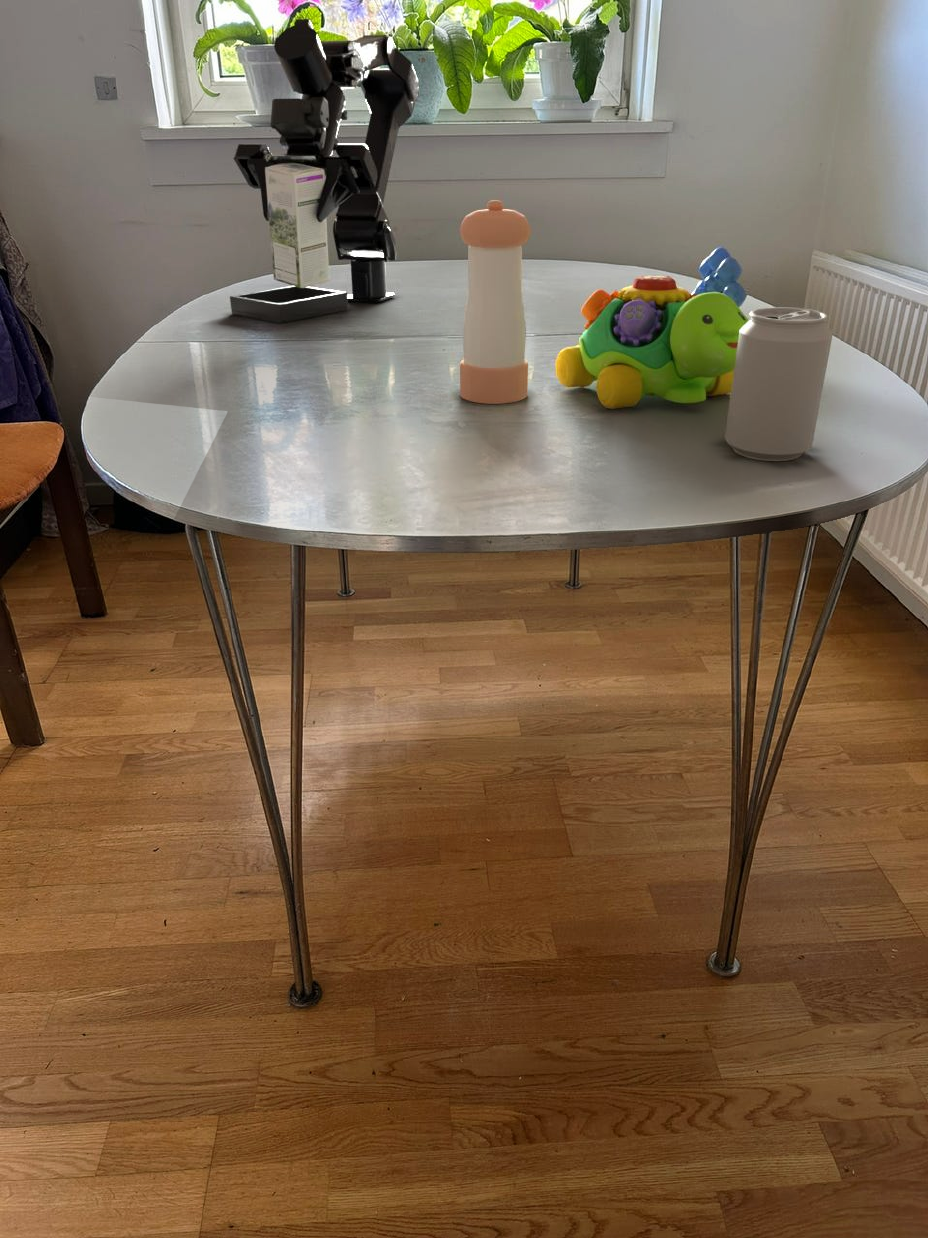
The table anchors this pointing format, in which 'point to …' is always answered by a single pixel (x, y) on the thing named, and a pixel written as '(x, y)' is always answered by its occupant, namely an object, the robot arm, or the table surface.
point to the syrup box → (297, 224)
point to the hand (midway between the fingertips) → (292, 219)
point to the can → (778, 383)
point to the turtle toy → (654, 344)
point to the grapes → (721, 276)
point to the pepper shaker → (494, 307)
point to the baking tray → (288, 303)
